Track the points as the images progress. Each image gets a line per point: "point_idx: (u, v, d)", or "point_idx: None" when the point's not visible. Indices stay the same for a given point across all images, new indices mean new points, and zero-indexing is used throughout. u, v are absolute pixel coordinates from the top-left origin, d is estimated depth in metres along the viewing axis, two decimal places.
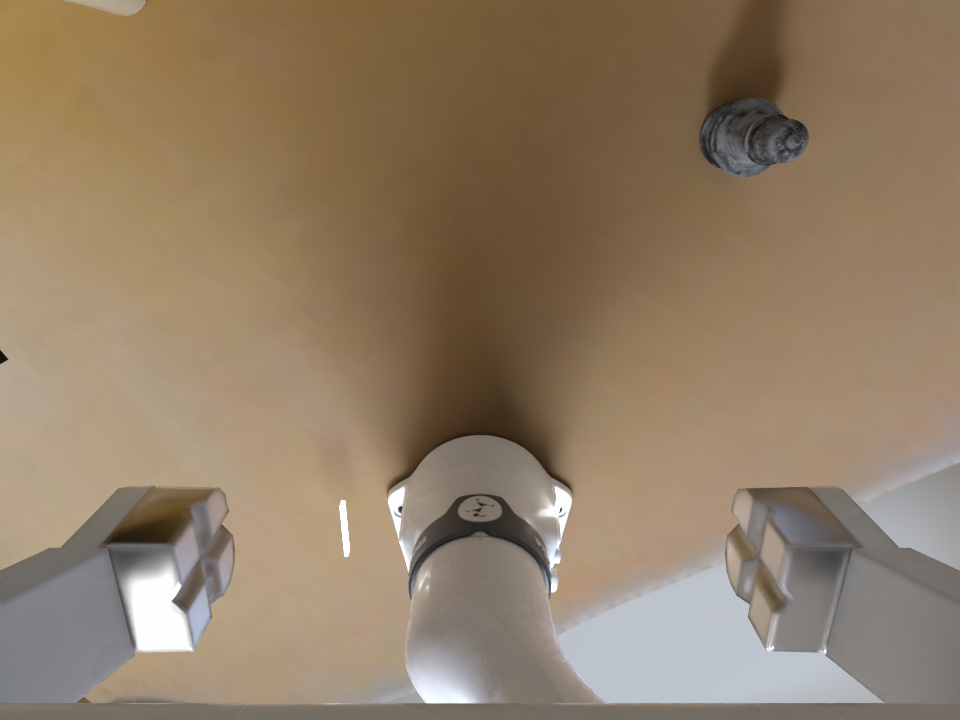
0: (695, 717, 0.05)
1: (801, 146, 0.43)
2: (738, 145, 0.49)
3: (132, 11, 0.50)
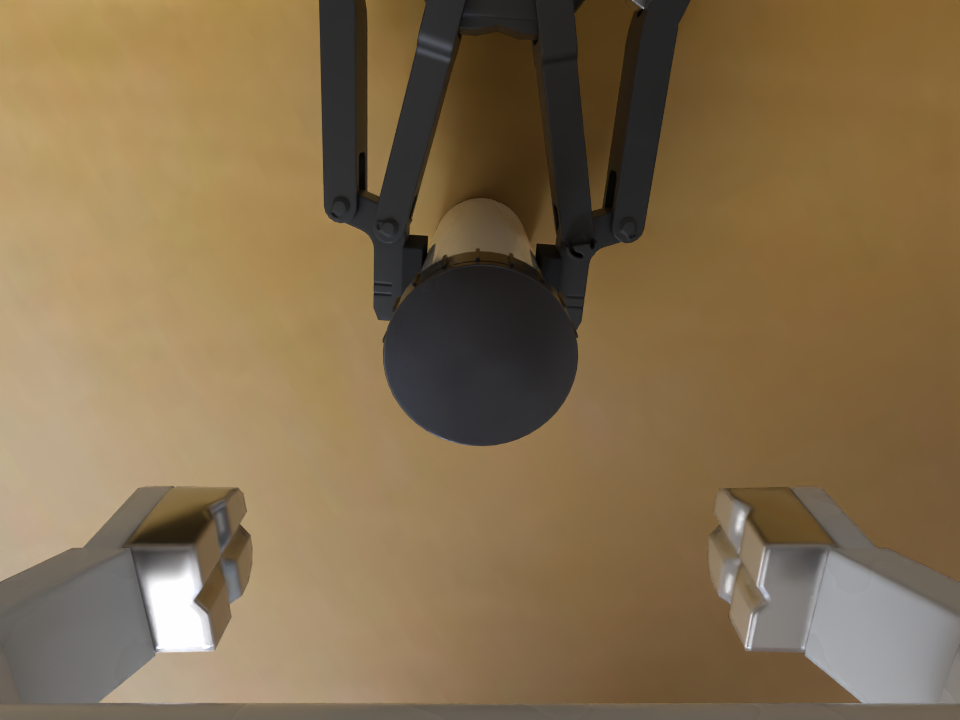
0: (695, 717, 0.05)
1: None
2: None
3: None
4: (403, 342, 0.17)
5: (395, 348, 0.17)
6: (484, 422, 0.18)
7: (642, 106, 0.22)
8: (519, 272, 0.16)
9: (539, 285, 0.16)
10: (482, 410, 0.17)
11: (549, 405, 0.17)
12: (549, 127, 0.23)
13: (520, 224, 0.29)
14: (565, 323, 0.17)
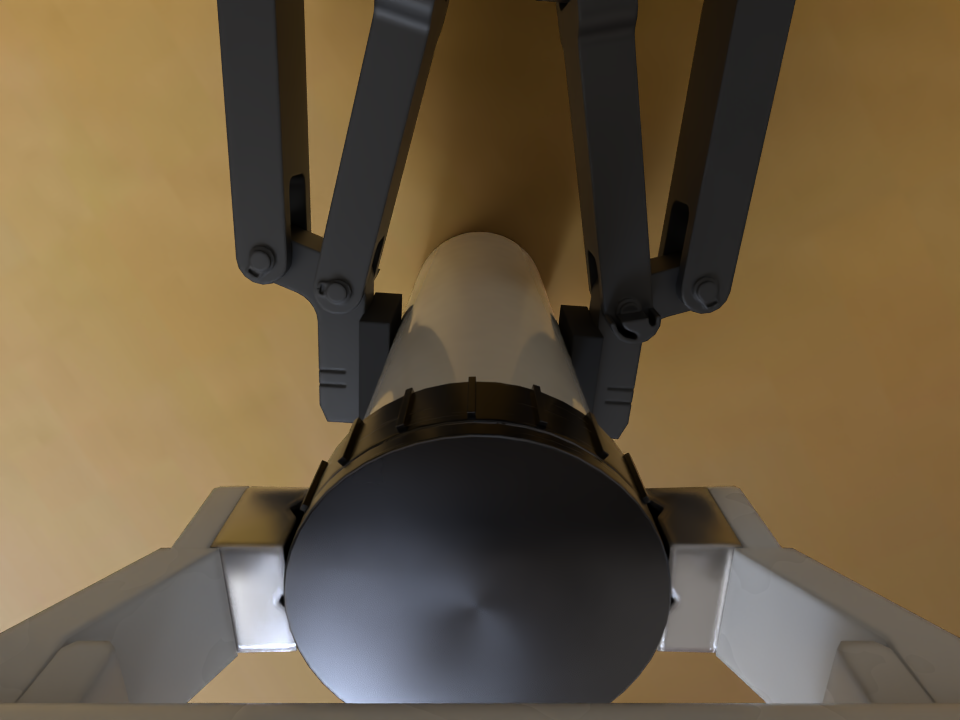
0: (695, 717, 0.05)
1: None
2: None
3: None
4: (322, 576, 0.08)
5: (306, 587, 0.08)
6: None
7: (737, 104, 0.14)
8: (558, 449, 0.08)
9: (599, 473, 0.08)
10: (481, 689, 0.09)
11: (611, 681, 0.09)
12: (587, 137, 0.14)
13: (535, 272, 0.20)
14: (650, 543, 0.08)
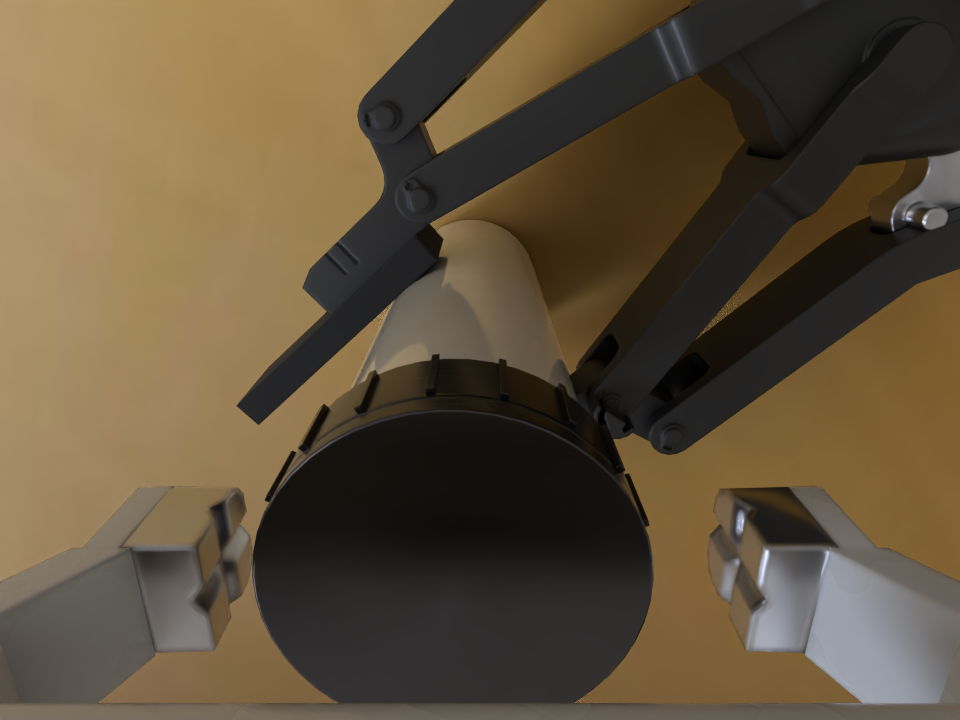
0: (695, 717, 0.05)
1: None
2: None
3: None
4: (297, 612, 0.08)
5: (289, 626, 0.08)
6: (516, 685, 0.09)
7: (805, 330, 0.16)
8: (443, 410, 0.07)
9: (496, 417, 0.07)
10: (502, 667, 0.09)
11: (625, 617, 0.08)
12: (700, 262, 0.15)
13: None
14: (584, 466, 0.08)
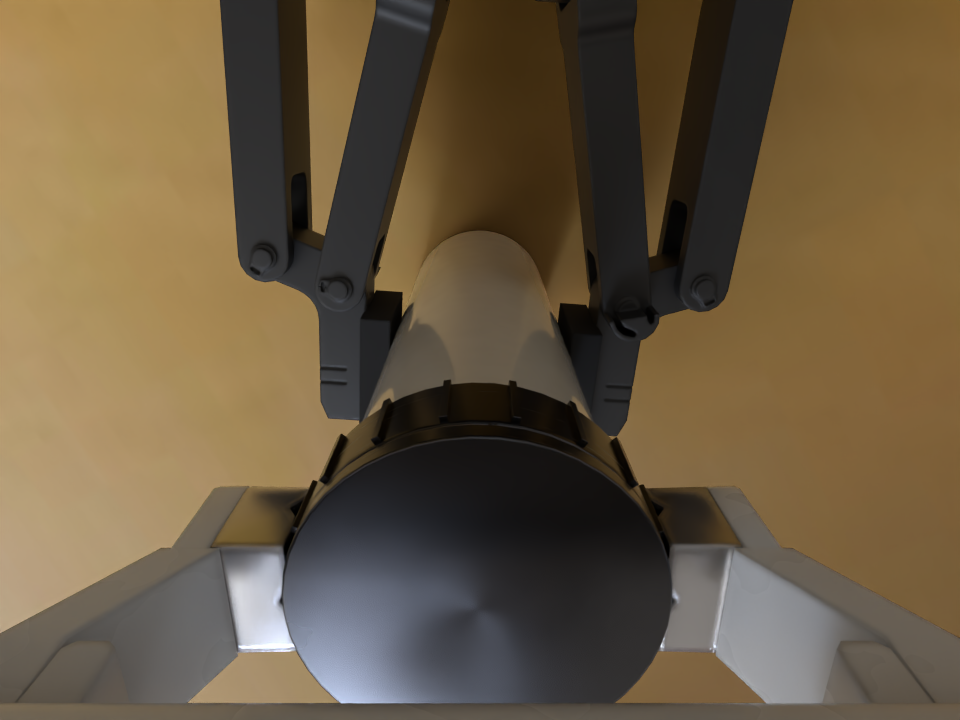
0: (695, 717, 0.05)
1: None
2: None
3: None
4: None
5: None
6: (604, 645, 0.09)
7: (734, 104, 0.14)
8: (328, 491, 0.08)
9: (368, 466, 0.08)
10: (578, 639, 0.09)
11: (631, 531, 0.08)
12: (587, 137, 0.15)
13: (535, 270, 0.20)
14: (466, 448, 0.08)
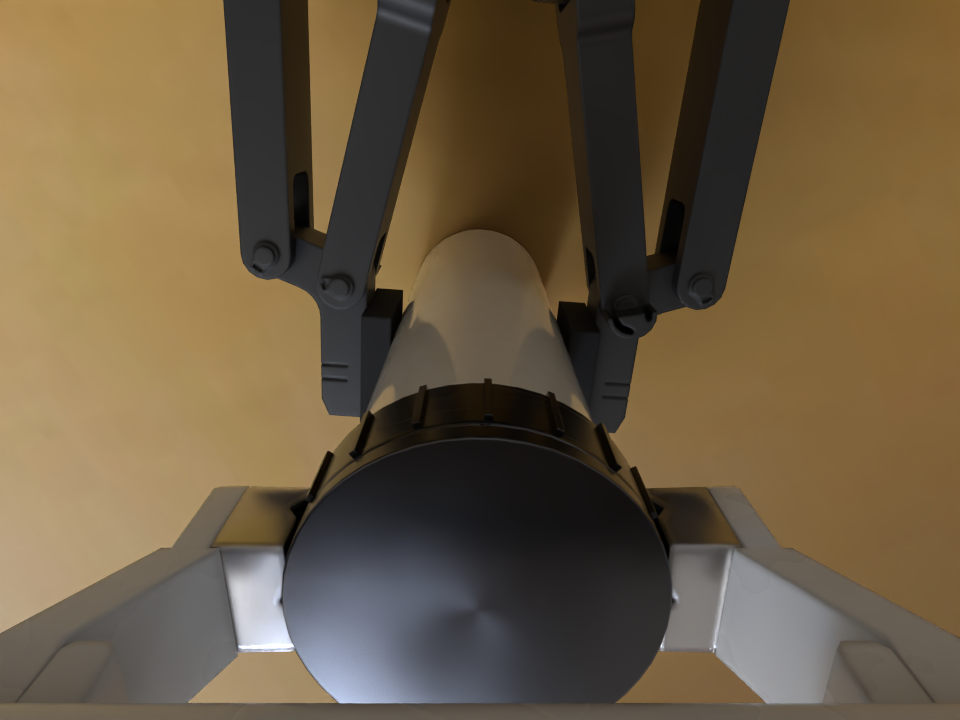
0: (695, 717, 0.05)
1: None
2: None
3: None
4: None
5: None
6: (574, 524, 0.08)
7: (731, 104, 0.14)
8: (305, 666, 0.09)
9: (291, 631, 0.09)
10: (555, 543, 0.08)
11: (443, 461, 0.08)
12: (585, 136, 0.15)
13: (534, 269, 0.21)
14: (297, 561, 0.08)
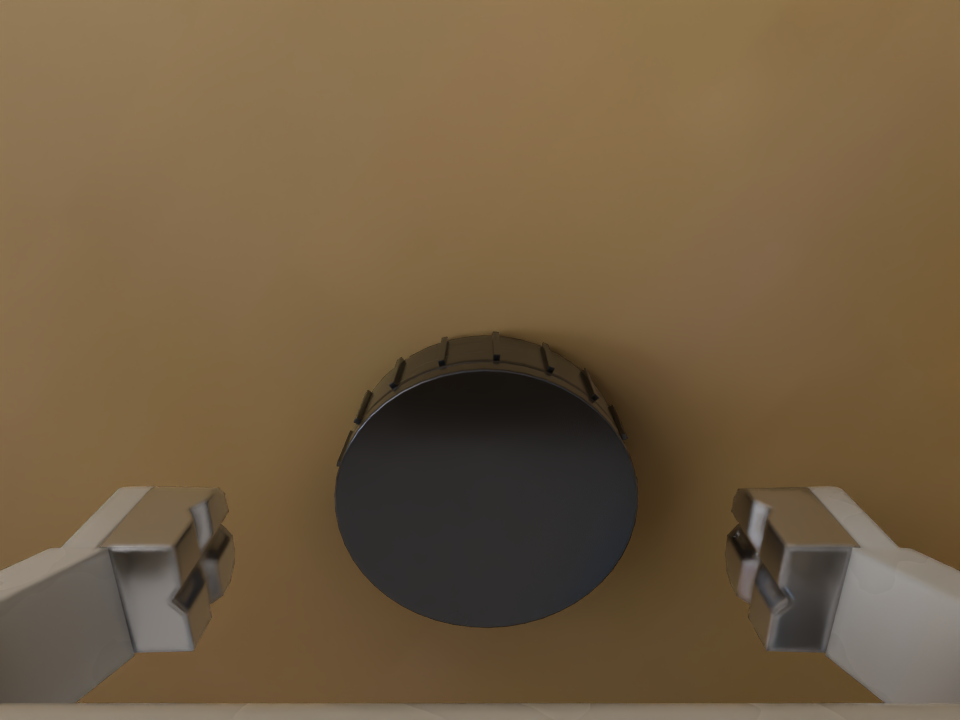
0: (695, 717, 0.05)
1: None
2: None
3: None
4: (544, 594, 0.12)
5: (559, 596, 0.12)
6: (561, 439, 0.10)
7: None
8: (351, 556, 0.11)
9: (341, 526, 0.11)
10: (547, 454, 0.10)
11: (462, 388, 0.10)
12: None
13: None
14: (348, 467, 0.11)
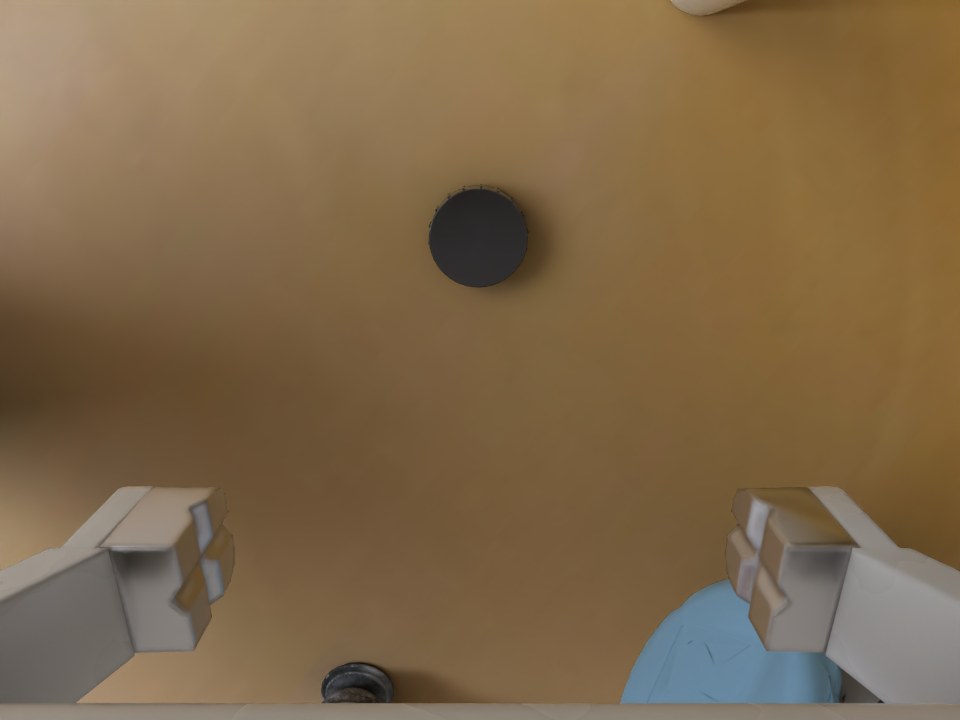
0: (695, 717, 0.05)
1: None
2: None
3: None
4: (498, 272, 0.34)
5: (503, 273, 0.34)
6: (501, 213, 0.33)
7: None
8: (433, 257, 0.34)
9: (430, 246, 0.34)
10: (497, 218, 0.33)
11: (470, 195, 0.33)
12: None
13: None
14: (434, 223, 0.33)
